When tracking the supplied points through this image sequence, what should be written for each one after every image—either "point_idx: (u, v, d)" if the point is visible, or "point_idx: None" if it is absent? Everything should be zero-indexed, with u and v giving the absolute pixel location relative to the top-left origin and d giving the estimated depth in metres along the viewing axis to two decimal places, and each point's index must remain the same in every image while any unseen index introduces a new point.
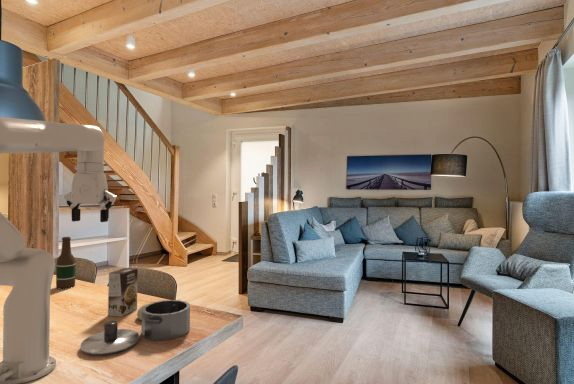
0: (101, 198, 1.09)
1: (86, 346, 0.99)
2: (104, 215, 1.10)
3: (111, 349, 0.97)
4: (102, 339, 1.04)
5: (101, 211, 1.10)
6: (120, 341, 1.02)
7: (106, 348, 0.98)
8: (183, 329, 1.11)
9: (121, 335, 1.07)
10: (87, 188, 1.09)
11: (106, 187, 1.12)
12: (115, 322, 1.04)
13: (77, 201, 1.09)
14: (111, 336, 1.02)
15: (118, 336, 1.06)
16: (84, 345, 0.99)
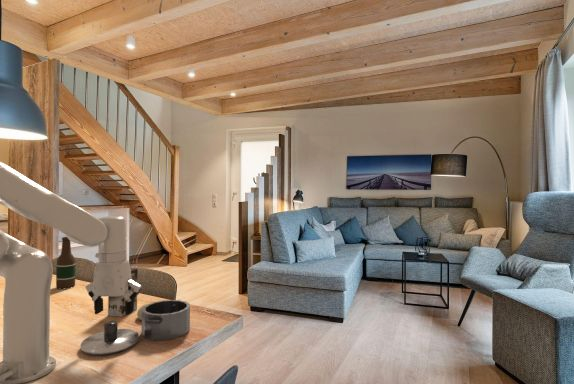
0: (125, 290, 1.02)
1: (86, 346, 0.99)
2: (129, 307, 1.03)
3: (111, 349, 0.97)
4: (102, 339, 1.04)
5: (126, 303, 1.02)
6: (120, 341, 1.03)
7: (106, 348, 0.98)
8: (183, 329, 1.11)
9: (121, 335, 1.07)
10: (110, 280, 1.01)
11: (130, 276, 1.05)
12: (115, 322, 1.04)
13: (100, 294, 1.02)
14: (112, 336, 1.02)
15: (118, 336, 1.06)
16: (84, 345, 0.99)
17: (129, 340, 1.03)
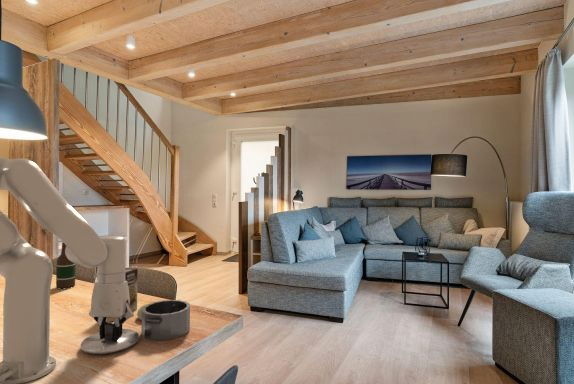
0: (123, 311, 1.01)
1: (86, 346, 0.99)
2: (117, 332, 1.03)
3: (112, 348, 0.97)
4: (102, 339, 1.04)
5: (114, 328, 1.02)
6: (120, 340, 1.03)
7: (107, 347, 0.98)
8: (183, 329, 1.11)
9: (121, 335, 1.07)
10: (108, 301, 1.01)
11: (128, 296, 1.04)
12: None
13: (97, 315, 1.01)
14: (112, 336, 1.02)
15: None
16: (84, 345, 0.99)
17: (129, 340, 1.03)
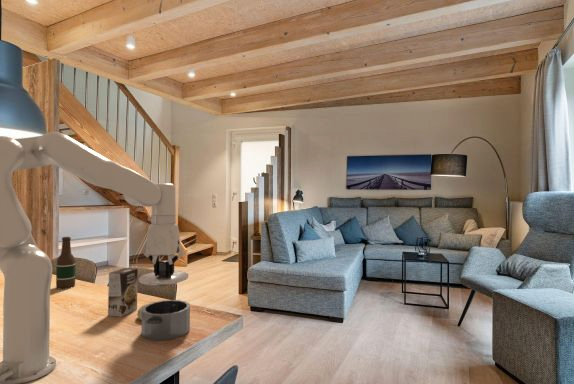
0: (176, 250, 1.12)
1: (144, 280, 1.09)
2: (170, 269, 1.13)
3: (168, 281, 1.08)
4: (156, 276, 1.14)
5: (168, 266, 1.12)
6: (173, 277, 1.13)
7: (163, 281, 1.08)
8: (183, 329, 1.11)
9: None
10: (162, 240, 1.11)
11: (179, 238, 1.14)
12: (167, 260, 1.15)
13: (153, 253, 1.11)
14: (165, 273, 1.13)
15: None
16: (142, 279, 1.10)
17: (181, 276, 1.14)
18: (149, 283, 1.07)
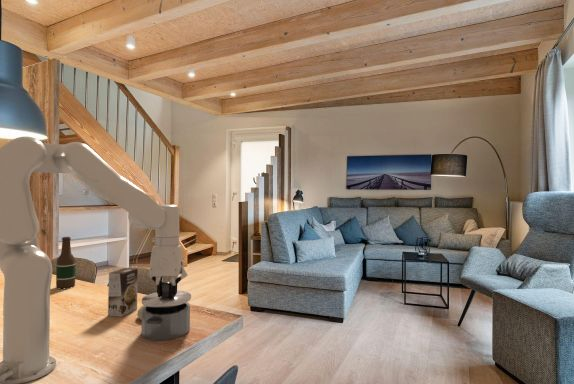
0: (179, 271, 1.12)
1: (147, 301, 1.10)
2: (173, 291, 1.14)
3: (171, 303, 1.09)
4: (159, 297, 1.15)
5: (171, 287, 1.13)
6: (176, 298, 1.14)
7: (166, 302, 1.09)
8: (183, 329, 1.11)
9: None
10: (166, 262, 1.12)
11: (182, 259, 1.15)
12: (171, 281, 1.15)
13: (156, 274, 1.12)
14: (169, 294, 1.13)
15: None
16: (145, 301, 1.10)
17: (184, 297, 1.14)
18: (152, 305, 1.07)
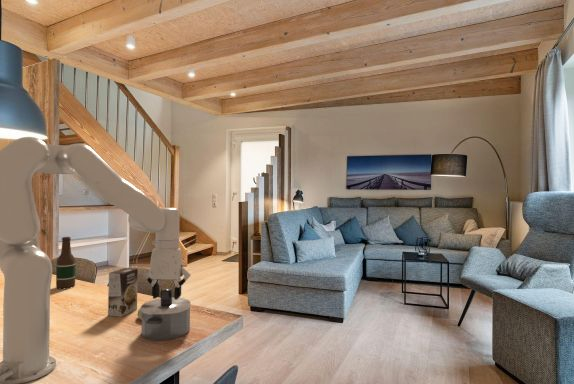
0: (179, 274, 1.12)
1: (147, 309, 1.10)
2: (177, 292, 1.13)
3: (170, 311, 1.08)
4: (158, 304, 1.14)
5: (175, 289, 1.13)
6: (175, 305, 1.14)
7: (166, 310, 1.09)
8: (183, 329, 1.11)
9: (174, 301, 1.18)
10: (166, 265, 1.12)
11: (182, 262, 1.15)
12: (170, 289, 1.15)
13: (156, 277, 1.12)
14: (168, 301, 1.13)
15: (172, 302, 1.17)
16: (144, 308, 1.10)
17: (183, 305, 1.14)
18: (151, 313, 1.07)
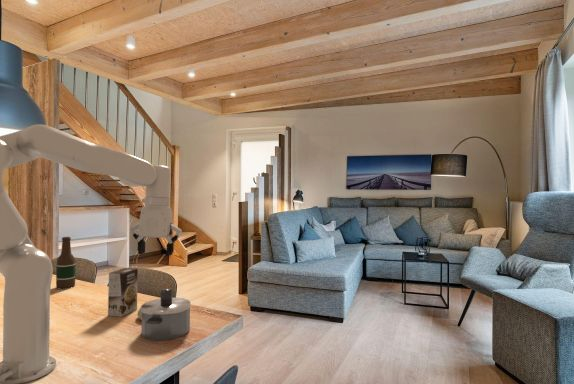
0: (168, 232, 1.11)
1: (147, 309, 1.10)
2: (170, 249, 1.12)
3: (170, 311, 1.08)
4: (158, 304, 1.14)
5: (167, 245, 1.11)
6: (175, 305, 1.14)
7: (166, 310, 1.09)
8: (183, 329, 1.11)
9: (174, 301, 1.18)
10: (155, 222, 1.11)
11: (172, 221, 1.14)
12: (170, 289, 1.15)
13: (145, 235, 1.11)
14: (168, 301, 1.13)
15: (172, 302, 1.17)
16: (144, 308, 1.10)
17: (183, 305, 1.14)
18: (151, 313, 1.07)
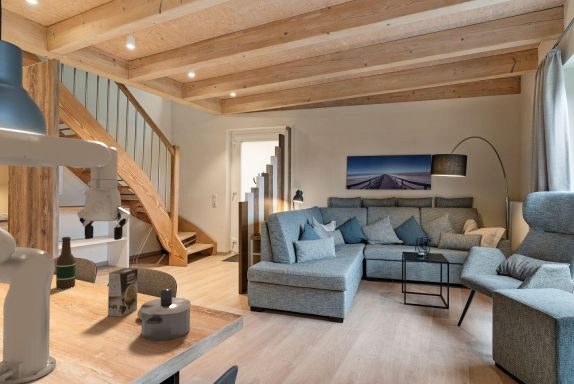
0: (115, 215, 1.07)
1: (147, 309, 1.10)
2: (118, 233, 1.08)
3: (170, 311, 1.08)
4: (158, 304, 1.14)
5: (115, 229, 1.07)
6: (175, 305, 1.14)
7: (166, 310, 1.09)
8: (183, 329, 1.11)
9: (174, 301, 1.18)
10: (101, 205, 1.06)
11: (120, 204, 1.10)
12: (170, 289, 1.15)
13: (90, 219, 1.07)
14: (168, 301, 1.13)
15: (172, 302, 1.17)
16: (144, 308, 1.10)
17: (183, 305, 1.14)
18: (151, 313, 1.07)
